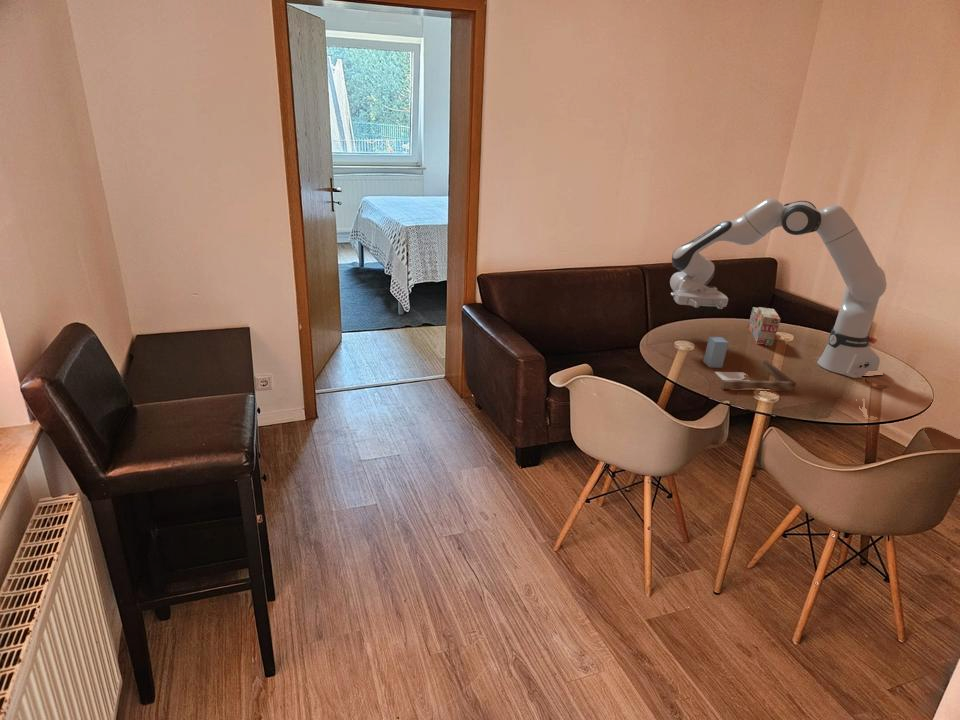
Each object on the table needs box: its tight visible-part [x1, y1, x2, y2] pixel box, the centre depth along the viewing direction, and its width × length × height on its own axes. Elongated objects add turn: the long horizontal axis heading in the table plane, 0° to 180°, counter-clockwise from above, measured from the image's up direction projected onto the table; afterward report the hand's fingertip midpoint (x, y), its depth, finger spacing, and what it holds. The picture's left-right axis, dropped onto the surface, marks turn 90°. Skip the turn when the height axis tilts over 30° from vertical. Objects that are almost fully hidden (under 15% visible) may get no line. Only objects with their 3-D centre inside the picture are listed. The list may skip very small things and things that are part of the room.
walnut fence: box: [720, 359, 797, 392], centre depth 212 cm, size 26×19×3 cm
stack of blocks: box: [747, 306, 781, 345], centre depth 251 cm, size 21×6×12 cm, turn 167°
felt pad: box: [714, 371, 747, 381], centre depth 212 cm, size 11×11×1 cm
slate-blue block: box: [703, 336, 729, 368], centre depth 221 cm, size 5×5×10 cm
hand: (709, 306), depth 225 cm, fingers open, 8 cm apart
